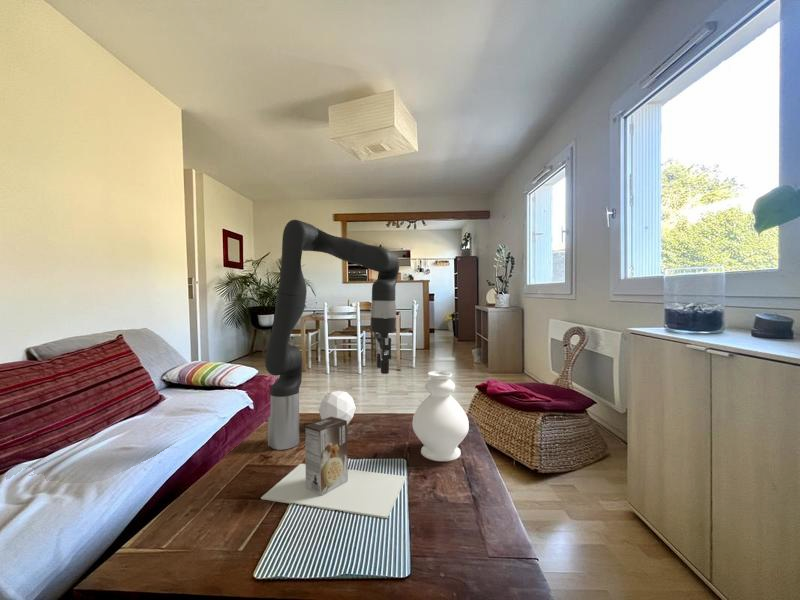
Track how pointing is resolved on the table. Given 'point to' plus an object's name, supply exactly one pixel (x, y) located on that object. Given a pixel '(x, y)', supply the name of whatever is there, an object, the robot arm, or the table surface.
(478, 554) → the table surface
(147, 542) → the table surface
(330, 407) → the geodesic sphere
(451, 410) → the decorative vase
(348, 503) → the mat
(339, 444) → the coffee box
